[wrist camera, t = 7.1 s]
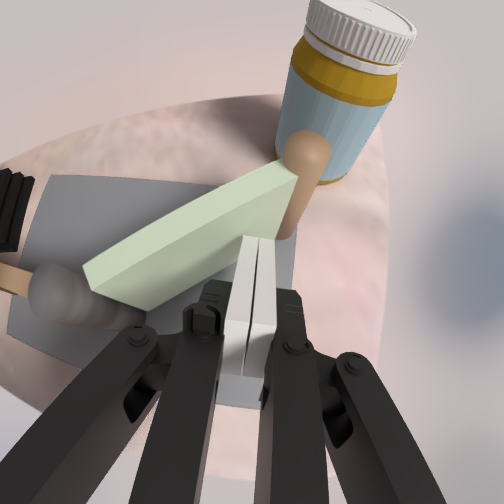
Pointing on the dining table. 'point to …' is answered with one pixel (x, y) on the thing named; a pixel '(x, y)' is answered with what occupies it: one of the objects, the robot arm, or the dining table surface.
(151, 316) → the board
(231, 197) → the fence panel
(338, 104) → the bottle
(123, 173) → the dining table surface
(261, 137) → the dining table surface
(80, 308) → the walnut fence section
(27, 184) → the chess piece
